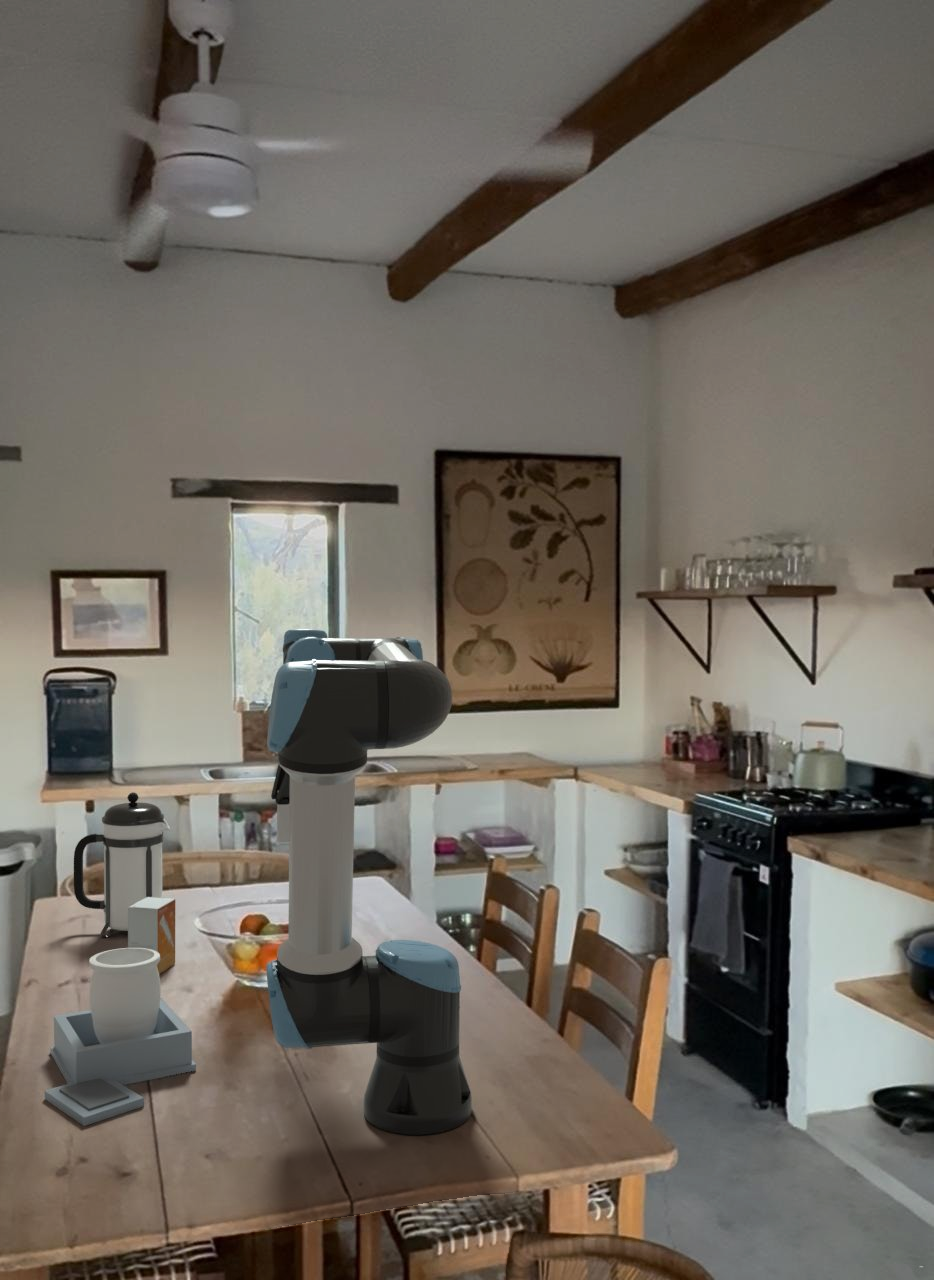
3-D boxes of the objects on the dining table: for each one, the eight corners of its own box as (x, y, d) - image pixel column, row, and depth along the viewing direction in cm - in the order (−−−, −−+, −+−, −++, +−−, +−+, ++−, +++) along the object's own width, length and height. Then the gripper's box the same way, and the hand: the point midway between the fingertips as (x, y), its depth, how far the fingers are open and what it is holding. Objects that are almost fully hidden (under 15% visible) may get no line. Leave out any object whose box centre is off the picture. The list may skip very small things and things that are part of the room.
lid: (143, 1106, 166) (143, 1095, 166) (84, 1126, 160) (84, 1115, 160) (103, 1081, 175) (102, 1071, 174) (44, 1099, 168) (44, 1088, 168)
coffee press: (146, 916, 264) (146, 784, 263) (182, 931, 252) (181, 793, 251) (72, 931, 252) (71, 792, 251) (105, 947, 241) (105, 802, 240)
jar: (91, 1068, 176) (90, 969, 176) (88, 1044, 186) (88, 950, 185) (163, 1059, 180) (163, 962, 179) (157, 1035, 189) (157, 943, 189)
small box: (158, 976, 223) (157, 908, 222) (127, 974, 224) (126, 906, 223) (176, 963, 231) (176, 897, 230) (146, 961, 232) (146, 896, 231)
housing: (196, 1070, 179) (195, 1031, 178) (73, 1095, 170) (73, 1054, 169) (163, 1032, 194) (163, 996, 194) (50, 1052, 185) (50, 1015, 185)
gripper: (358, 721, 191) (355, 852, 190) (293, 719, 212) (290, 837, 211) (316, 721, 187) (313, 855, 186) (254, 719, 208) (251, 839, 207)
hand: (301, 846), depth 198 cm, fingers open, 13 cm apart
